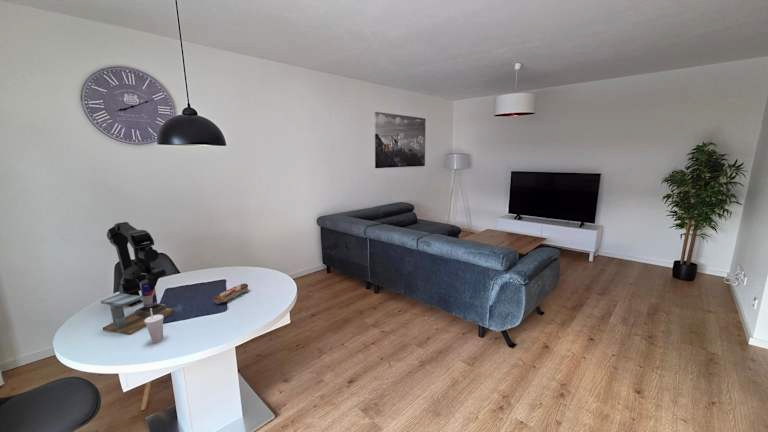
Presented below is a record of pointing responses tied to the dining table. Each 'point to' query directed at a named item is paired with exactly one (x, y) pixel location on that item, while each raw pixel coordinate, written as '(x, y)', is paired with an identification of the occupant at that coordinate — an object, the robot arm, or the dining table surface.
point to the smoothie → (155, 326)
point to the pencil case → (231, 293)
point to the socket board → (133, 320)
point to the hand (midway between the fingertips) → (148, 289)
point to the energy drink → (148, 294)
